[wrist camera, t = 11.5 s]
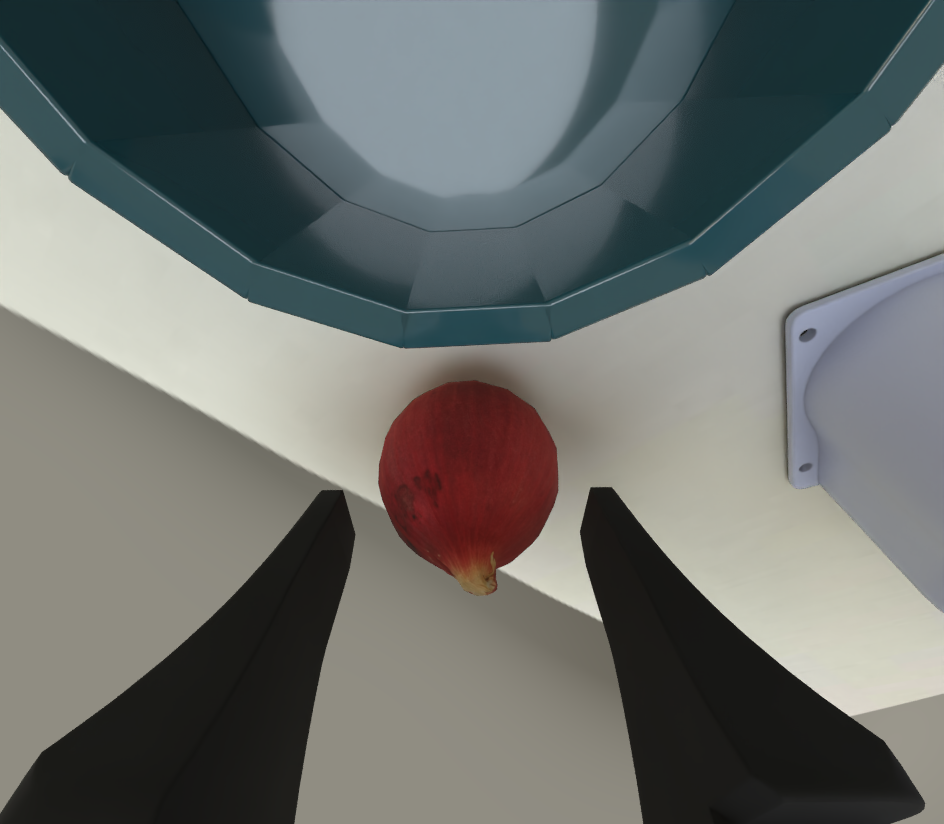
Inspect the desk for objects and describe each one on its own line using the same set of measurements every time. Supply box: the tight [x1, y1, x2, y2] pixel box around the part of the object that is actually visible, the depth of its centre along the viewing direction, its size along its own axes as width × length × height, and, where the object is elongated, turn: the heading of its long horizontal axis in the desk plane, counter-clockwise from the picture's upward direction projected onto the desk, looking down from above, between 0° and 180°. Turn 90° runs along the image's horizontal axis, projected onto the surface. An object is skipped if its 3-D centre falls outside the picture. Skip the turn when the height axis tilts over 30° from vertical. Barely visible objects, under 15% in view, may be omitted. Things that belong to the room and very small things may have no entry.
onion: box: [378, 380, 558, 596], centre depth 13 cm, size 6×6×8 cm
